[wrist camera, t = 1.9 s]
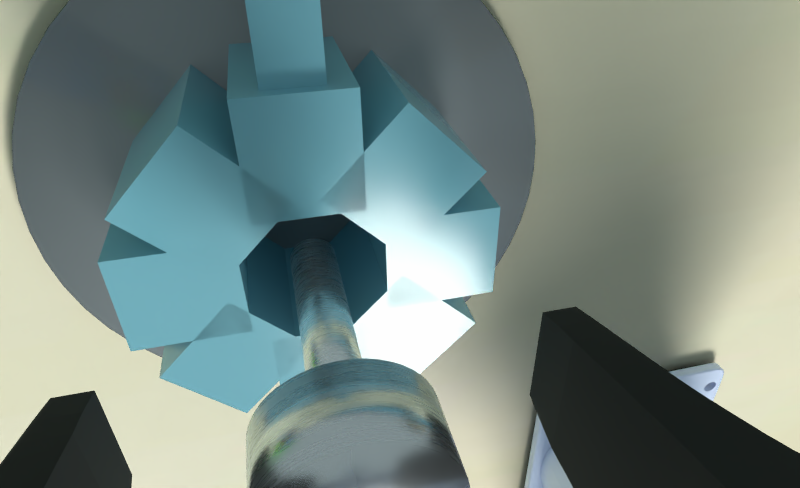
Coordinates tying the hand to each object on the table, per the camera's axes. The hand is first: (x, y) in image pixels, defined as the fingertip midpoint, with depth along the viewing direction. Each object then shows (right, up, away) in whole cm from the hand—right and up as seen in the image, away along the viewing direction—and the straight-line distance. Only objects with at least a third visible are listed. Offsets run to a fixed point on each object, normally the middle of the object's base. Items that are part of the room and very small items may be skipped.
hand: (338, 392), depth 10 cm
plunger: (-1, +2, +3) cm, 4 cm away
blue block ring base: (-2, +4, +6) cm, 7 cm away
